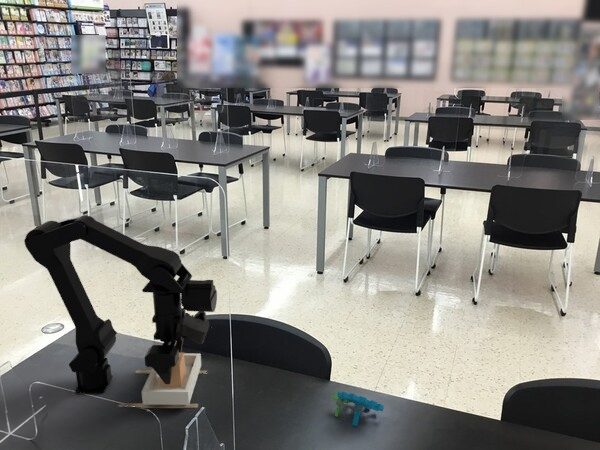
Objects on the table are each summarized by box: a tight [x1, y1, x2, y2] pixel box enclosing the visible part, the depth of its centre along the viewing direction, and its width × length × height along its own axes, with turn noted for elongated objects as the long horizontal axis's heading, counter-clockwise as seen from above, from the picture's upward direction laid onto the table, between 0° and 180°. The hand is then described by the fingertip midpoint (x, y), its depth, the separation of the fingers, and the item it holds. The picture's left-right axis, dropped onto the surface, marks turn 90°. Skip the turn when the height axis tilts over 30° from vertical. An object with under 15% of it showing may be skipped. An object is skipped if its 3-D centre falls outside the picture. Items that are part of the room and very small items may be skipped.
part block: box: [160, 352, 186, 387], centre depth 114 cm, size 4×4×6 cm
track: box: [118, 369, 208, 409], centre depth 116 cm, size 17×14×1 cm
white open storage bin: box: [141, 352, 202, 405], centre depth 115 cm, size 10×15×4 cm, turn 0°
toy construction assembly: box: [332, 391, 385, 427], centre depth 106 cm, size 11×6×10 cm
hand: (172, 371), depth 115 cm, fingers open, 9 cm apart
